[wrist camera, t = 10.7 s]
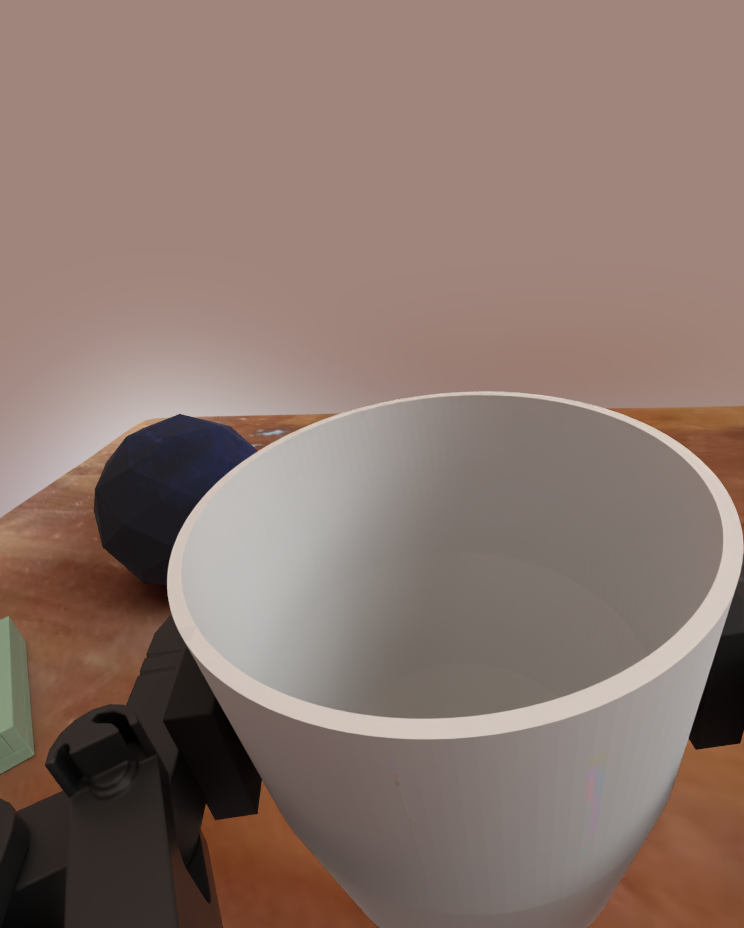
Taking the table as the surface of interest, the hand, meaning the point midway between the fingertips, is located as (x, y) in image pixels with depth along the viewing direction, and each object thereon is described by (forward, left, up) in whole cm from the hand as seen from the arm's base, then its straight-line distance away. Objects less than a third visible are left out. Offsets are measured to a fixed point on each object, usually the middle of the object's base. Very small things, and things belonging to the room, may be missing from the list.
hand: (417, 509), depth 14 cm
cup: (-2, -4, -7) cm, 8 cm away
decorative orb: (-1, +34, -22) cm, 40 cm away
